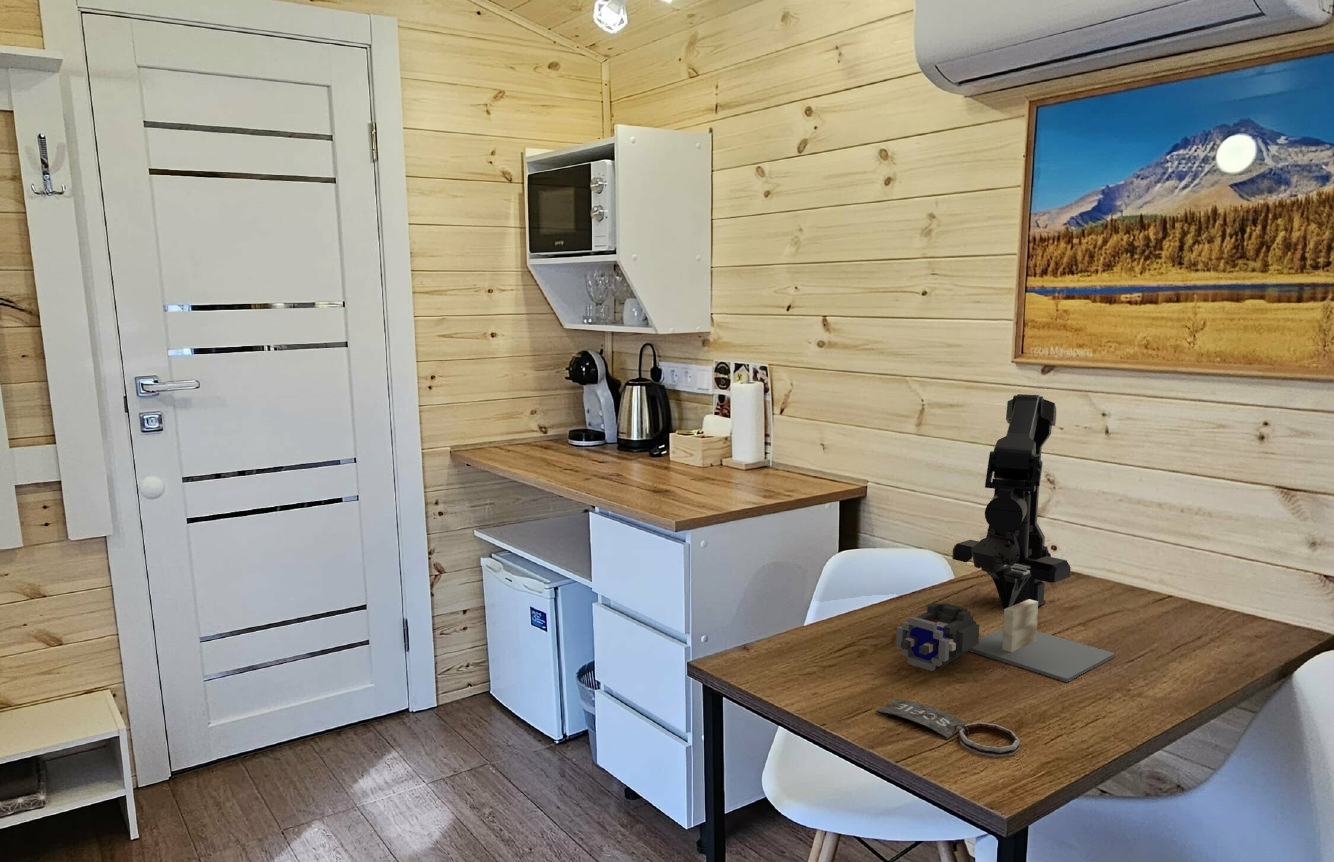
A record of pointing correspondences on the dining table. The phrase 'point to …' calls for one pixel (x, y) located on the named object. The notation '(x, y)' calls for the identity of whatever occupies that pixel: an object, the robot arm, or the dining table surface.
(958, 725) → the keychain
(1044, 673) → the mat
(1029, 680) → the dining table surface
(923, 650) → the toy
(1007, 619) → the tile
